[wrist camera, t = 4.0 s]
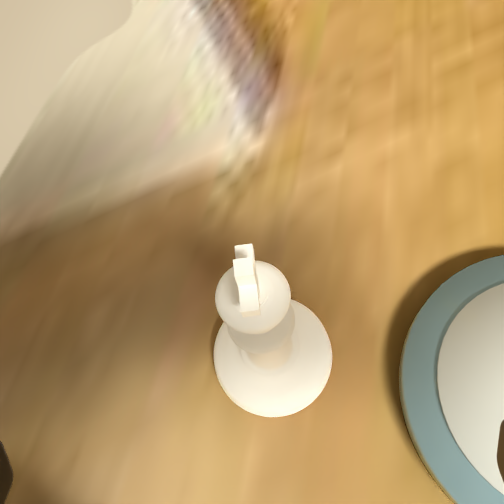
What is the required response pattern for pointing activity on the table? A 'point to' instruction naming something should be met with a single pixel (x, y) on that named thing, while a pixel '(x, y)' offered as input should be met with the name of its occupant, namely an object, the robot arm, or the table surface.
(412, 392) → the dish
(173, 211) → the table surface
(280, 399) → the chess piece
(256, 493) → the table surface
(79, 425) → the table surface
